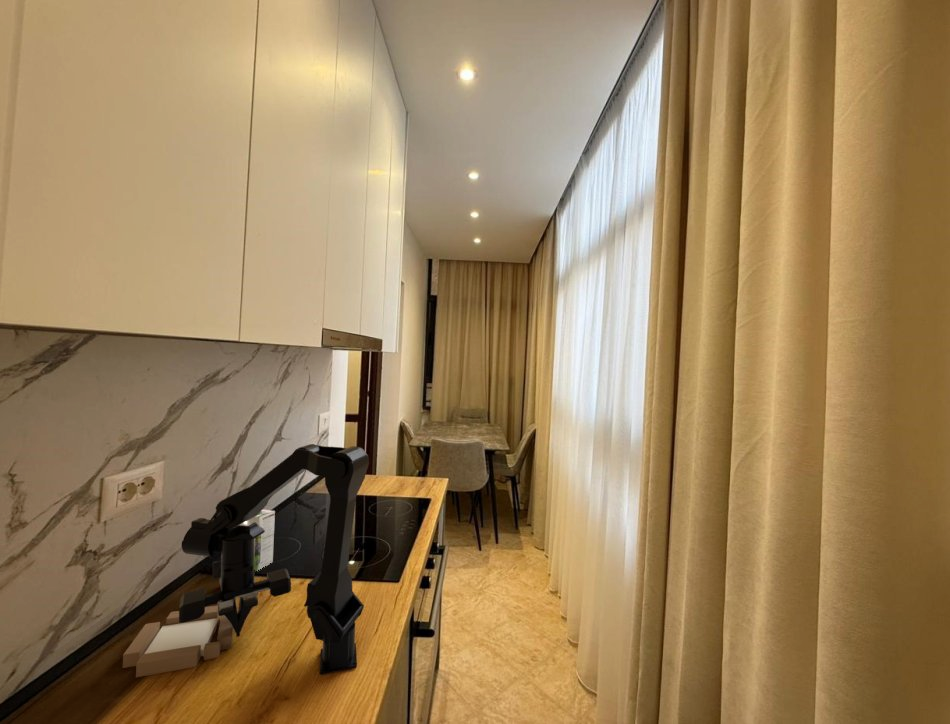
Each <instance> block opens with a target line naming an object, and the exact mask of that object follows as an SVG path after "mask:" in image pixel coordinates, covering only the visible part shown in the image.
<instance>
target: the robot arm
mask: <svg viewBox="0 0 950 724" xmlns="http://www.w3.org/2000/svg"><path fill="white" fill-rule="evenodd" d="M369 464H370V457H369V454H367V453H366V451H365V450H364V449H363V448H362V447H359V446H355V445H354V446H349V447H341V446H325V445H319V444H314V443H310V444H306V445H304V446H303V445H302V446H300V447H298V448H295V450H294V451H293V452H292V453H291V455H289V456H287V458H285V459H284V460H283V461H281V462H280V463H279V464H277V465H276V466H275V467H274V468H272V469H271V470H269V471H268V472H267V473H266V474H264V475H263V476H262V477H260V478H259V479H258V480H257V481H255V482H254V483H253V484H252V485H250V486H248V487H246V488H244V489H242V490H240V491H237V492H235V493H233V494H232V495H230V496H228V497H225V498H224V499H221V500H220V501H218V503H217V505H216V506H215V512H214V514H213V515H212V517H211V518H210V519H207V518H202V517H199V518H197V519H195V520H192V521H191V525H190V527H189V529H188V530H187V531H186V533H185V535H184V536H183V538H182V539H183V540H182V541H181V550H182V552H183V553H185V554H186V555H194V556H202V557H203V556H204V557H211V558H213V557H217V556H219V555H220V560H218V561H213V562H212V580H217V579H220V578H221V581H220V580H219V586H220V585H221V587H220V591H218V592H214V593H210V594H209V593H208V594H206V588H200V589H197V590H192V591H189V592H185V593H183V595H181V597H180V600H179V609H178V611H179V622H181V623H184V622H187V621H191V620H194V619H198V618H200V617H201V616H202V615H203V614H204V613H205V607H211V606H214V605H217V606H218V615H219V616H220V617H221V616H223V615H225V616H226V618H227V619H228V620H229V621H230V623H231V624H232V626H233V628H234V630H233V631H234V633H235V635H236V636H235V637H236V638H238V637H240V636H241V632H242V629H243V626H244V624H245V622H246V620H247V619H248V618H247V617H248V616H249V614H250V612H251V610H252V609H253V608H254V607H257V606H258V605H259V597H258V595H259V593H262V592H265V591H268V590H269V593H270V594H269V595H271V596H272V597H274V598H275V597H279V596H282V595H287V594H290V592H291V591H292V581H291V576H290V574H289V570H288V569H287V568H285V567H284V568H280V569H278V570H273V571H269V572H268V571H267V572H266V579H263V580H258V581H256V580H255V571H254V539H255V538H256V537H258V536H259V535H261V534H263V533H264V532H265V530H264V529H263V528H262V527H260V526H258V525H257V523H256V522H255V523H253V524H251V525H249V526H245V525H240V524H242V523H244V522H245V521H247V520H249V519H251V518H253V517H255V516H257V515H258V514H259V513H260V512H261V511H262V509H264V508H266V506H267V504H268V503H269V500H270V499H272V497H273V496H274V495H276V494H277V493H278V492H279V491H280V490H282V489H283V488H284V487H286V486H288V485H289V484H290V483H292V481H294V480H295V479H296V478H298V477H299V476H300V475H302V474H303V473H304V472H305V471H308V472H310V473H311V474H313V475H314V476H317V477H323V478H324V485H325V487H326V490H327V492H328V495H329V506H328V514H327V522H326V528H325V529H326V530H325V538H324V544H323V546H324V547H323V554H322V555H323V556H322V561H321V562H322V563H321V570H320V572H319V573H318V574H317V575H316V576H315V577H314V578H312V580H311V581H309V583H307V586H306V600H305V602H304V604H303V607H306V616H307V617H308V619H309V620H310V623H311V625H312V626H311V627H312V630H313V633H314V637H315V640H318V641H321V642H322V648H321V649H320V656H319V669H318V670H319V671H318V672H319V673H318V674H319V675H321V676H322V675H327V674H331V673H336V672H341V671H346V670H350V669H355V668H357V667H358V660H357V659H358V657H357V643H356V642H355V639H356V623H355V622H356V621H357V619H359V617H361V615H362V613H363V611H364V608H365V606H364V604H363V603H362V601H361V600H360V598H359V597H358V596H357V594H356V593H354V591H353V579H352V576H351V574H350V571H349V568H348V567H349V566H348V565H349V557H350V548H351V541H352V533H353V524H354V518H355V509H356V501H357V495H358V493H359V491H360V489H361V487H362V485H363V483H364V481H365V478H366V474H367V472H368V468H369ZM236 599H238V600H239V601H238V607H237V601H236Z"/></svg>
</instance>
